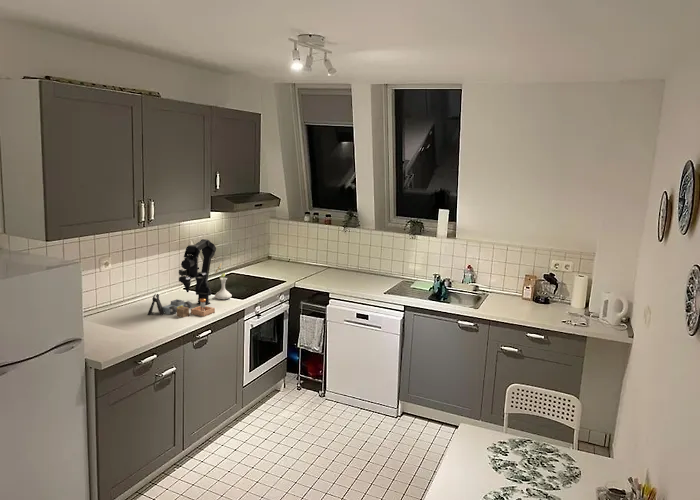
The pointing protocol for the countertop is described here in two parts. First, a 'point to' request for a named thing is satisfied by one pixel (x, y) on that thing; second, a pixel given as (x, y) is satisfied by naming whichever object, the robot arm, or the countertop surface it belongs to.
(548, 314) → the countertop surface
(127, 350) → the countertop surface
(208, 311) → the open tan box
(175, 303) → the dolly
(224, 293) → the flower in vase
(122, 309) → the countertop surface
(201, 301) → the pin
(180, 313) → the taped cardboard box
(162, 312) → the phone stand
